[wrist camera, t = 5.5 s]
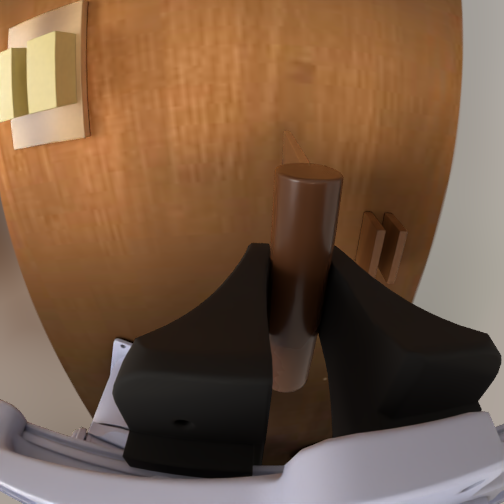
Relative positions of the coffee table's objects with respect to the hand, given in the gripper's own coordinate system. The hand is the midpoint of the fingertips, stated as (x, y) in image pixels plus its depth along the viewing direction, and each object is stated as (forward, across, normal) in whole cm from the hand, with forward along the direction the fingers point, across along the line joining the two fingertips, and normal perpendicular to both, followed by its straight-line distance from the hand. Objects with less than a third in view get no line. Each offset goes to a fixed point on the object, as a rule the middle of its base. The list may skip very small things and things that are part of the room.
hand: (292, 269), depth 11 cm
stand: (+10, -7, +4) cm, 13 cm away
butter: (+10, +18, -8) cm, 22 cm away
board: (+10, +16, -8) cm, 21 cm away
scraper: (+6, 0, 0) cm, 6 cm away
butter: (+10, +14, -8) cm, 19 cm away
